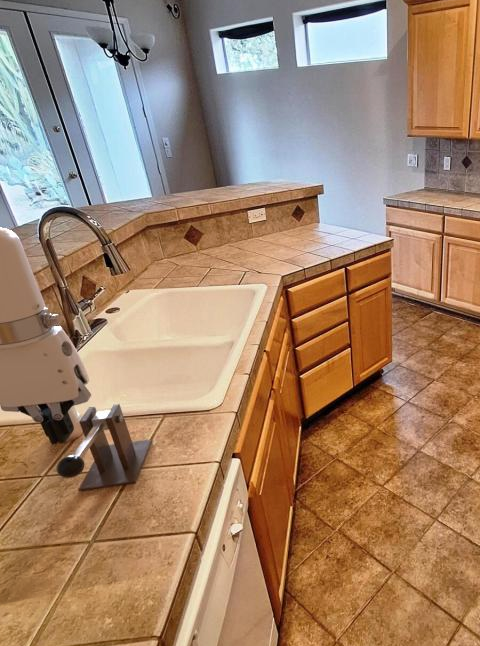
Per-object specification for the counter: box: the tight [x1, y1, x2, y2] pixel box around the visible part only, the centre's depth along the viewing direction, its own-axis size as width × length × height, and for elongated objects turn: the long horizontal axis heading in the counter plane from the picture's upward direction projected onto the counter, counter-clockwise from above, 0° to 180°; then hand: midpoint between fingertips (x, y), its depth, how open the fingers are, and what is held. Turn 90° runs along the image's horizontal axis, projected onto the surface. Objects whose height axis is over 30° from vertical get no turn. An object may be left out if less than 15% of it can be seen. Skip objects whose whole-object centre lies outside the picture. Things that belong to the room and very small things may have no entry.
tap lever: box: [56, 409, 111, 479], centre depth 71 cm, size 16×3×3 cm, turn 14°
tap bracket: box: [77, 403, 154, 493], centre depth 79 cm, size 12×9×13 cm
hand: (62, 437), depth 64 cm, fingers closed
